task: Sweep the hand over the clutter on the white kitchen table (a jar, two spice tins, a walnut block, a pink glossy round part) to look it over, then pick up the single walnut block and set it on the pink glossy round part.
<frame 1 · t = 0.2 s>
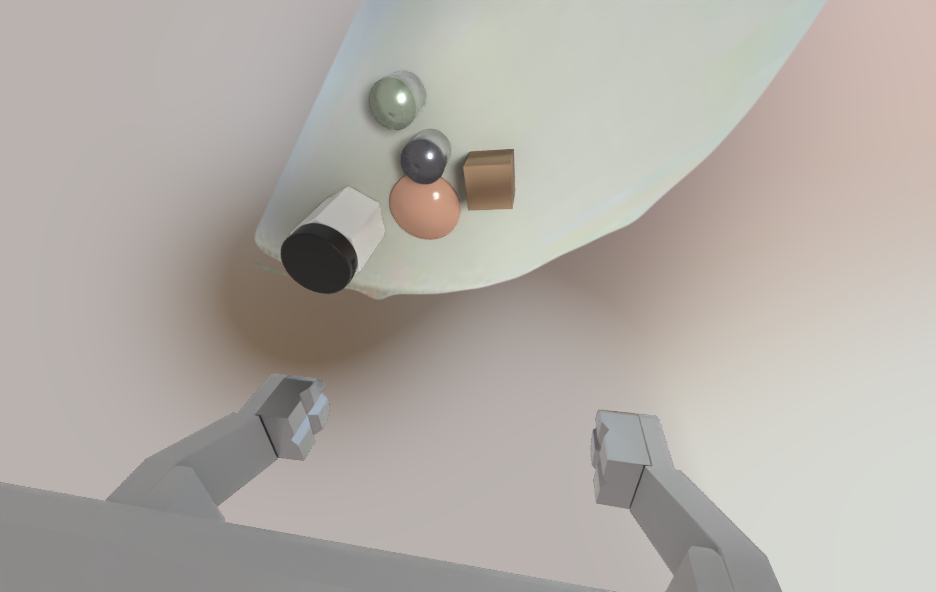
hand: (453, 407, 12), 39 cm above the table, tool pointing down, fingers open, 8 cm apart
jar: (356, 216, 54), on the table
tin b: (432, 149, 46), on the table
walnut block: (493, 171, 47), on the table
tin a: (405, 94, 43), on the table
pink glossy round part: (425, 205, 51), on the table
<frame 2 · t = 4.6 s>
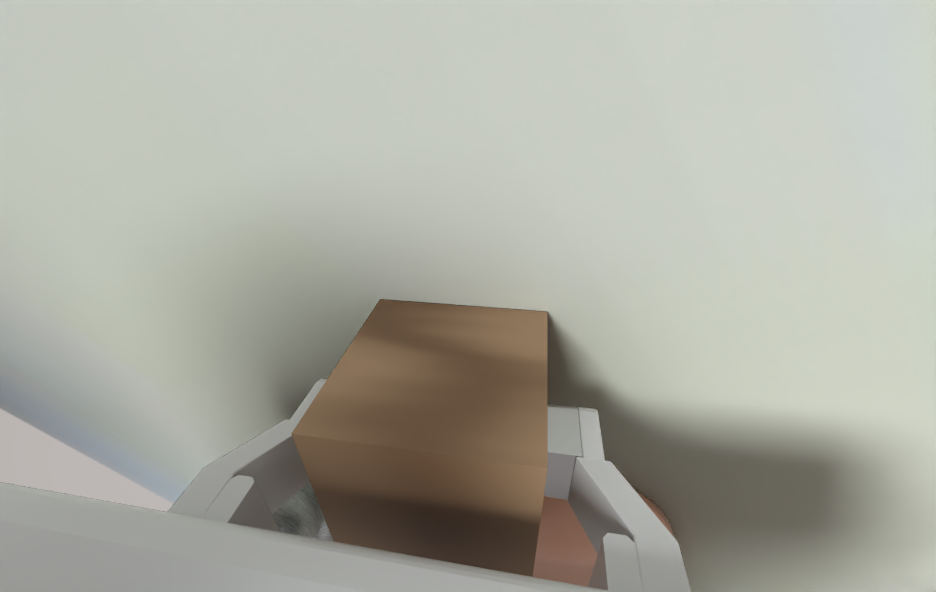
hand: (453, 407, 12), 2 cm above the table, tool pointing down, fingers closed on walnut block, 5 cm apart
walnut block: (463, 368, 13), on the table, touching gripper
tin a: (286, 489, 19), on the table
pink glossy round part: (559, 534, 17), on the table
when the fingers open (4 cm above the table, at t = 9.6 s): walnut block drops 1 cm, resting on pink glossy round part.
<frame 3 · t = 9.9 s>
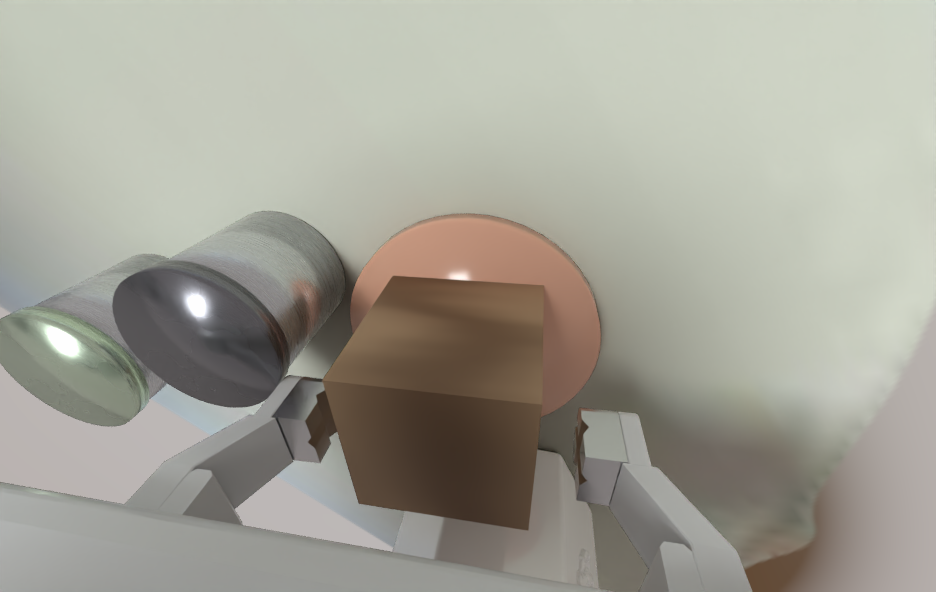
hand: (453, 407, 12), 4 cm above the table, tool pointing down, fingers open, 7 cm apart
jar: (502, 487, 20), on the table
tin b: (287, 269, 15), on the table, touching gripper
walnut block: (467, 340, 14), point 1 cm above the table, touching pink glossy round part
tin a: (173, 302, 17), on the table
pink glossy round part: (473, 328, 15), on the table
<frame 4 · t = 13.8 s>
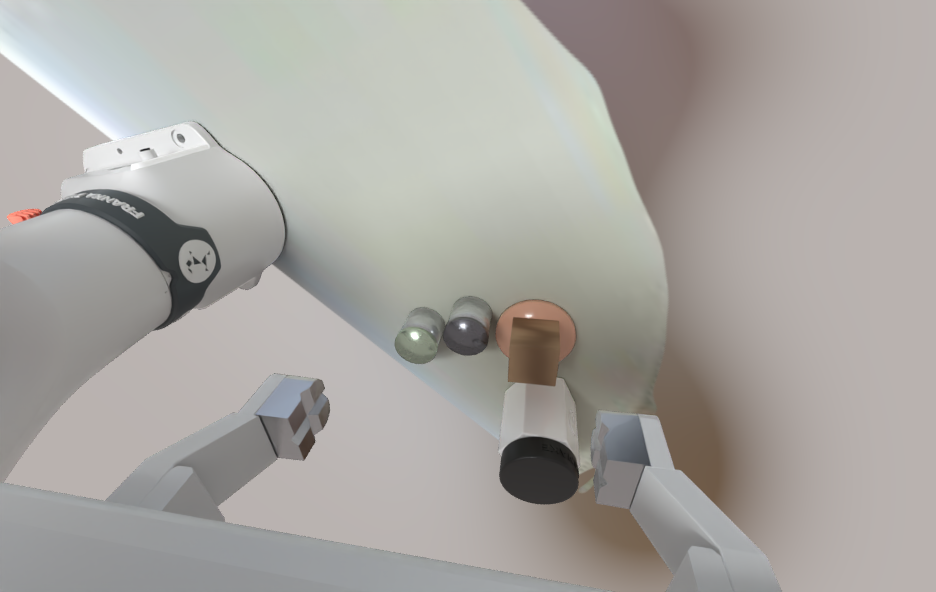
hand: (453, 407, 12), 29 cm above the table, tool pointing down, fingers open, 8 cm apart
jar: (539, 395, 51), on the table
tin b: (471, 313, 45), on the table
walnut block: (534, 336, 45), point 1 cm above the table, touching pink glossy round part
tin a: (426, 323, 47), on the table
pink glossy round part: (535, 332, 45), on the table
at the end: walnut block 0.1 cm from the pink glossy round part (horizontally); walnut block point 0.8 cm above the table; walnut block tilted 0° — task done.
